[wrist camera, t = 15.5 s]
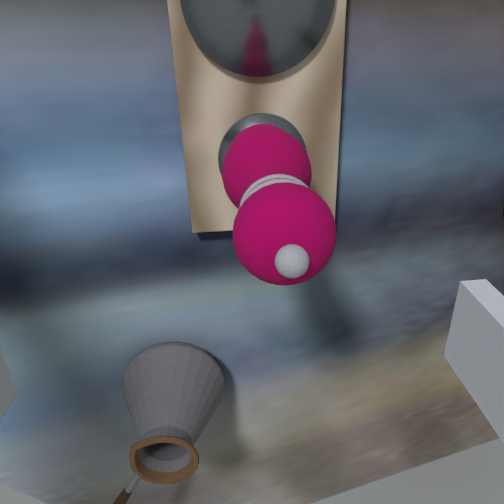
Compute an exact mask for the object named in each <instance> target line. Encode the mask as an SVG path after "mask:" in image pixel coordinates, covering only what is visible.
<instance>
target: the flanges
mask: <svg viewBox="0 0 504 504" xmlns="http://www.w3.org/2000/svg"><path fill="white" fill-rule="evenodd" d="M180 3H181V9H182V12H183V16H184V19H185V22H186V24H187V27H188V29H189V31H190V33H191V35H192V37H193V39H194V40H195V42H196V43H197V44H198V46H199V47H200V49H201V50H202V51H203V52H204V53H205V54H206V55H207V56H208V57H209V58H210V59H211V60H213V61H214V62H215V63H217V64H218V65H220V66H221V67H223V68H225V69H227V70H229V71H231V72H233V73H237V74H240V75H244V76H250V77H263V76H271V75H275V74H279V73H281V72H284V71H286V70H288V69H290V68H292V67H294V66H295V65H297V64H298V63H300V62H301V61H302V60H303V59H305V58H306V57H307V56H308V55H309V54H310V53H311V52H312V51H313V50H314V48H315V47H316V46H317V44H318V43H319V42H320V40H321V38H322V37H323V35H324V33H325V31H326V29H327V27H328V25H329V22H330V19H331V16H332V13H333V9H334V4H335V0H180Z"/></svg>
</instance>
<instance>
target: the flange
mask: <svg viewBox="0 0 504 504" xmlns="http://www.w3.org/2000/svg"><path fill="white" fill-rule="evenodd" d="M257 124H269V125H273V126H276V127H279V128H280V129H282V130H284V131H285V132H287V133H289V134H291V135H292V136H293V137H295V138H296V139H297V140H298V141H299V142H300V143H301V144H302V145H303V147H304V149H305V150H306V146H305V143H304V140H303V138H302V136H301V134H300V133H299V131H298V130H297V129H296V127H295V126H294V125H293V124H292V123H290V122H289V121H288V120H286V119H285V118H283V117H280V116H278V115H275V114H270V113H256V114H252V115H248V116H246V117H243V118H242V119H240V120H238V121H237V122H236V123H234V124H233V125H232V126H231V127H230V128H229V129H228V131H227V132H226V133H225V135H224V137H223V138H222V141H221V143H220V147H219V152H218V165H219V170H220V174H221V176H222V165H223V161H224V158H225V155H226V153H227V151H228V150H229V148H230V145H231V143H232V141H233V140H234V138H235V137H236V136H237V135H238V134H239V133H240V132H241V131H243V130H244V129H246V128H248V127H250V126H253V125H257ZM306 152H307V151H306Z"/></svg>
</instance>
